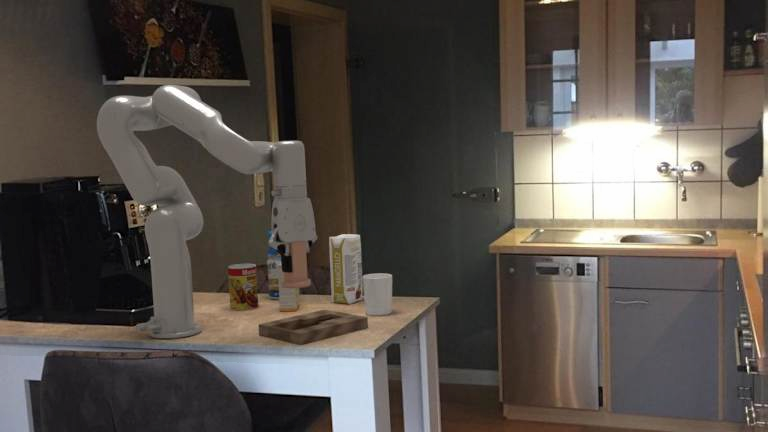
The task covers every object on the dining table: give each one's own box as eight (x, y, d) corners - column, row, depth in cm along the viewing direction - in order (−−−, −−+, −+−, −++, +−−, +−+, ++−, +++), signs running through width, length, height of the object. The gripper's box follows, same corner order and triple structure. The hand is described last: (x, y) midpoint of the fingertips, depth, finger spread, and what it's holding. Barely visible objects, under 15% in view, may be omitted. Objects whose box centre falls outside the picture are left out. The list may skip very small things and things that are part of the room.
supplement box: (297, 311, 224) (294, 263, 222) (279, 311, 224) (277, 264, 223) (300, 305, 232) (298, 259, 231) (283, 305, 232) (281, 260, 231)
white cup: (360, 316, 214) (358, 278, 213) (368, 309, 222) (366, 273, 221) (389, 316, 212) (388, 278, 211) (396, 310, 220) (395, 273, 219)
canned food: (253, 310, 227) (250, 267, 226) (226, 310, 228) (223, 268, 227) (262, 304, 235) (259, 263, 234) (236, 305, 236) (233, 263, 235)
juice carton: (366, 299, 237) (363, 234, 235) (350, 305, 229) (347, 237, 227) (344, 297, 240) (341, 233, 239) (328, 303, 233) (325, 237, 231)
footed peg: (293, 289, 189) (290, 237, 188) (275, 286, 194) (272, 236, 193) (316, 284, 194) (314, 234, 193) (298, 282, 199) (295, 233, 198)
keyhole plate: (300, 344, 186) (300, 333, 186) (259, 335, 197) (258, 324, 197) (367, 327, 201) (367, 317, 200) (325, 319, 212) (324, 309, 212)
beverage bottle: (299, 298, 242) (295, 231, 240) (270, 301, 240) (267, 233, 238) (294, 293, 250) (291, 228, 248) (267, 296, 248) (263, 230, 246)
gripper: (271, 196, 184) (276, 277, 185) (328, 191, 195) (332, 267, 197) (252, 196, 189) (256, 274, 191) (308, 190, 201) (312, 264, 202)
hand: (295, 269), depth 194 cm, fingers closed on footed peg, 4 cm apart
